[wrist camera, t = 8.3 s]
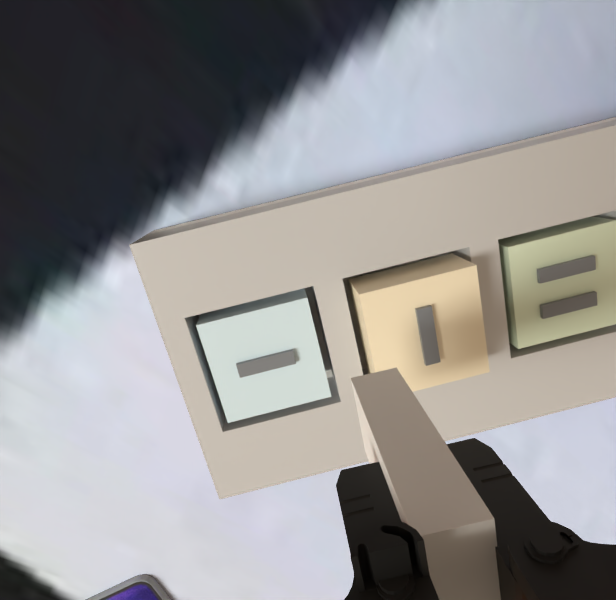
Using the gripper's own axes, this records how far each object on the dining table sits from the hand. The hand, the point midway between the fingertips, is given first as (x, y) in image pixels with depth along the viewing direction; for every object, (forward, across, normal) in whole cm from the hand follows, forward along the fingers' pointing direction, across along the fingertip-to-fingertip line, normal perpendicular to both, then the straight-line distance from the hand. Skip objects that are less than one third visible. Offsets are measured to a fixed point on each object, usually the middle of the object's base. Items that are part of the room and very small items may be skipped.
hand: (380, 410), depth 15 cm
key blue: (+7, -4, 0) cm, 8 cm away
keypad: (+9, +6, +1) cm, 11 cm away
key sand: (+6, +3, +1) cm, 7 cm away
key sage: (+7, +9, +1) cm, 12 cm away
